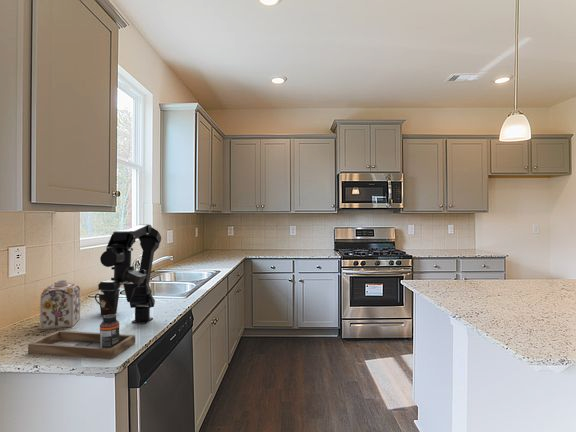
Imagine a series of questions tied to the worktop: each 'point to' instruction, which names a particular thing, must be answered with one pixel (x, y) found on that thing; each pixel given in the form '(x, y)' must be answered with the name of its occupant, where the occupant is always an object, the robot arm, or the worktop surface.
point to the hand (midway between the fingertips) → (121, 304)
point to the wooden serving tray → (79, 345)
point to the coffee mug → (106, 304)
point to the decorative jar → (60, 305)
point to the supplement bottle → (109, 331)
